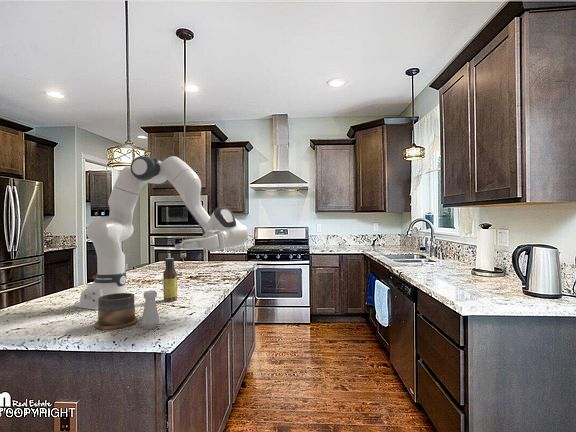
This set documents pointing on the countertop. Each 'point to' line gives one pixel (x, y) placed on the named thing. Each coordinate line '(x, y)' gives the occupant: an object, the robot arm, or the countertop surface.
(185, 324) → the countertop surface
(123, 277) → the robot arm
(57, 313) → the countertop surface
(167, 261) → the sauce bottle
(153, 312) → the salt shaker
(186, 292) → the countertop surface
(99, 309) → the brown pot
